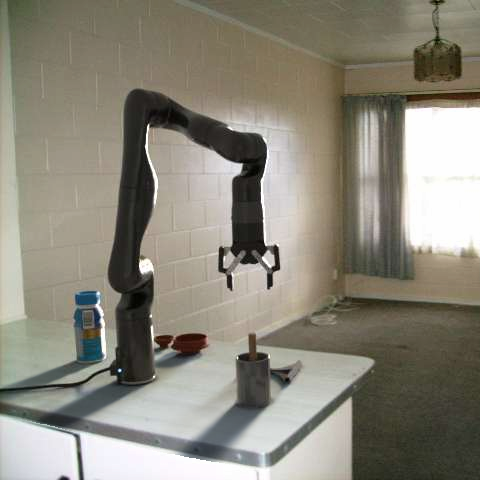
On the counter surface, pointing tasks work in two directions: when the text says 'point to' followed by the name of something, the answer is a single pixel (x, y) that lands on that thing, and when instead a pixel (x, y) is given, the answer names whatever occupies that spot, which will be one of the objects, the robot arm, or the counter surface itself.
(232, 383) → the counter surface
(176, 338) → the pottery
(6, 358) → the counter surface
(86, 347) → the beverage bottle
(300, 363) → the bracket
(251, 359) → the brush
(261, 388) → the grey metal cup
